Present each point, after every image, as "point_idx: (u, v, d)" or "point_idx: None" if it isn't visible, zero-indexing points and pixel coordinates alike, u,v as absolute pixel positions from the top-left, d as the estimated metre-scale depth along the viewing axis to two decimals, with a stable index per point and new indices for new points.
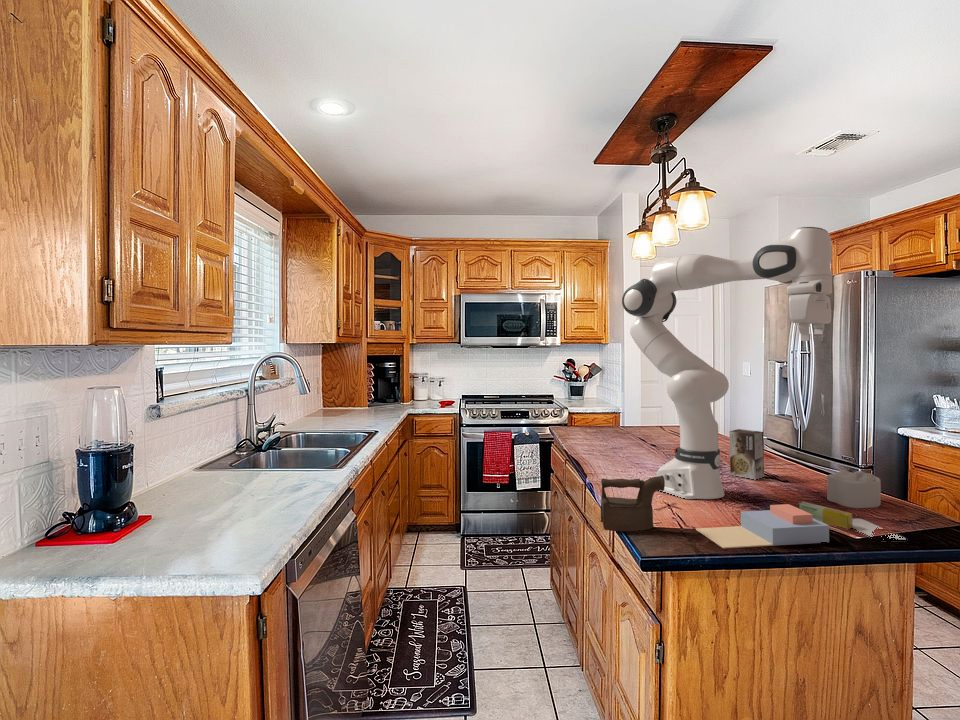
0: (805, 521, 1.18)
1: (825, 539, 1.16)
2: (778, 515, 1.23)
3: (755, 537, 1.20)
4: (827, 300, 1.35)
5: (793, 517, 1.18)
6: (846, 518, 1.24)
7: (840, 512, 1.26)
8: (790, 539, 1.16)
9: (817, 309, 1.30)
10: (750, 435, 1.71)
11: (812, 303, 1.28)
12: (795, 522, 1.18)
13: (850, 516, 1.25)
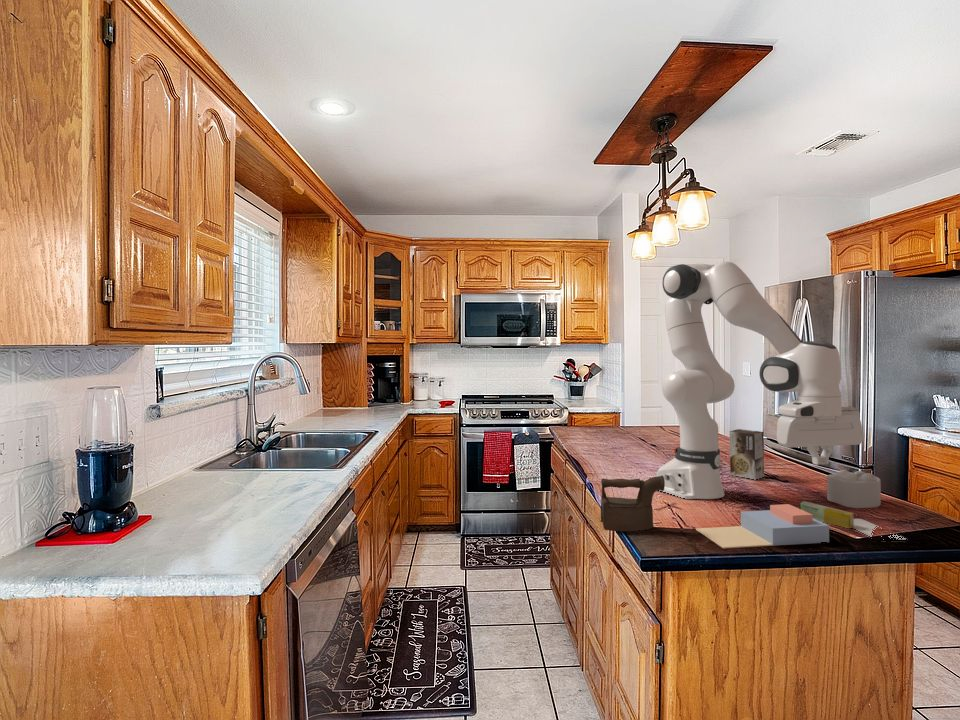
0: (805, 521, 1.18)
1: (825, 539, 1.16)
2: (778, 515, 1.23)
3: (755, 537, 1.20)
4: (849, 419, 1.21)
5: (793, 517, 1.18)
6: (847, 518, 1.25)
7: (841, 512, 1.27)
8: (790, 539, 1.16)
9: (818, 432, 1.20)
10: (750, 435, 1.71)
11: (806, 426, 1.20)
12: (795, 522, 1.18)
13: (851, 516, 1.25)
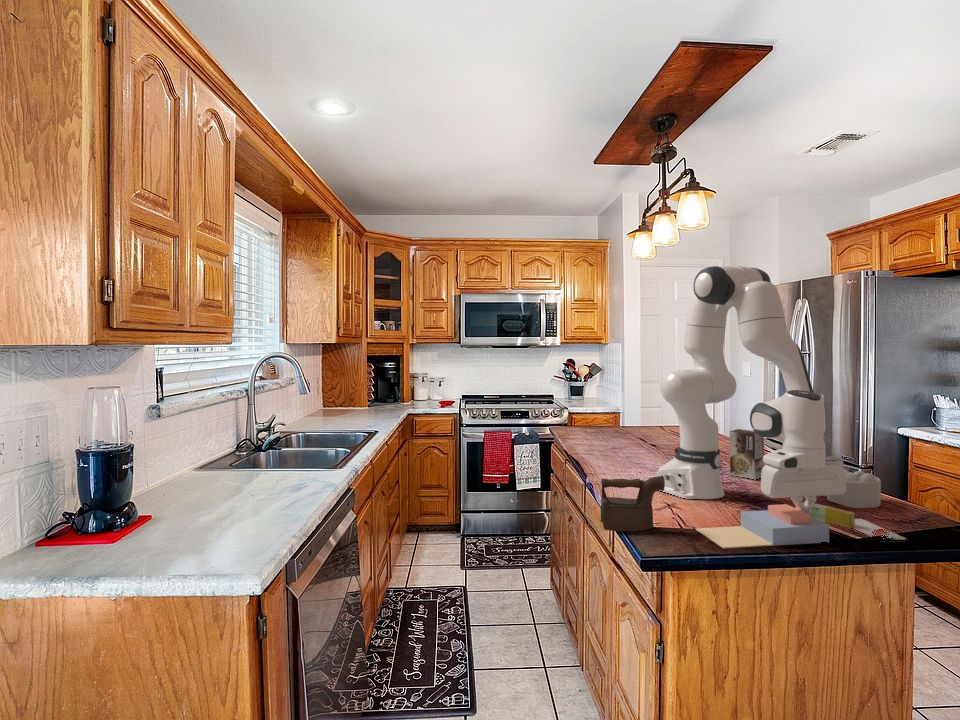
0: (803, 521, 1.18)
1: (825, 539, 1.16)
2: (776, 515, 1.23)
3: (755, 537, 1.20)
4: (833, 470, 1.21)
5: (791, 517, 1.18)
6: (849, 518, 1.25)
7: (842, 511, 1.27)
8: (790, 539, 1.16)
9: (802, 482, 1.20)
10: (750, 435, 1.71)
11: (790, 476, 1.20)
12: (793, 522, 1.18)
13: (852, 515, 1.25)
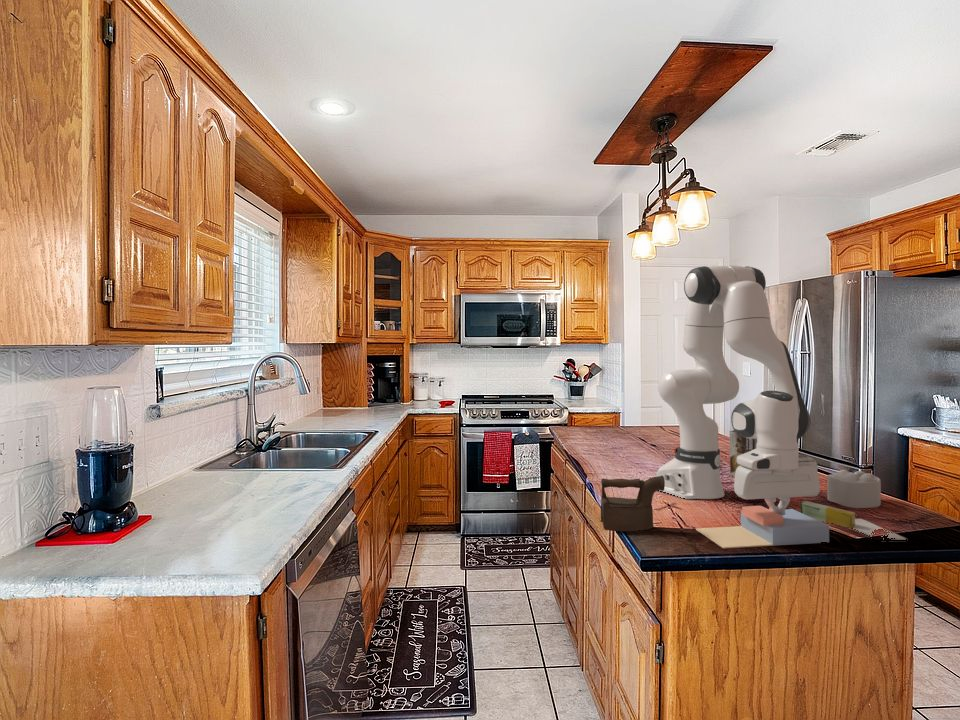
0: (776, 523, 1.17)
1: (825, 539, 1.16)
2: (749, 517, 1.22)
3: (755, 537, 1.20)
4: (806, 471, 1.20)
5: (763, 518, 1.17)
6: (849, 518, 1.25)
7: (843, 511, 1.27)
8: (790, 539, 1.16)
9: (775, 484, 1.19)
10: None
11: (763, 478, 1.19)
12: (766, 524, 1.17)
13: (853, 515, 1.25)
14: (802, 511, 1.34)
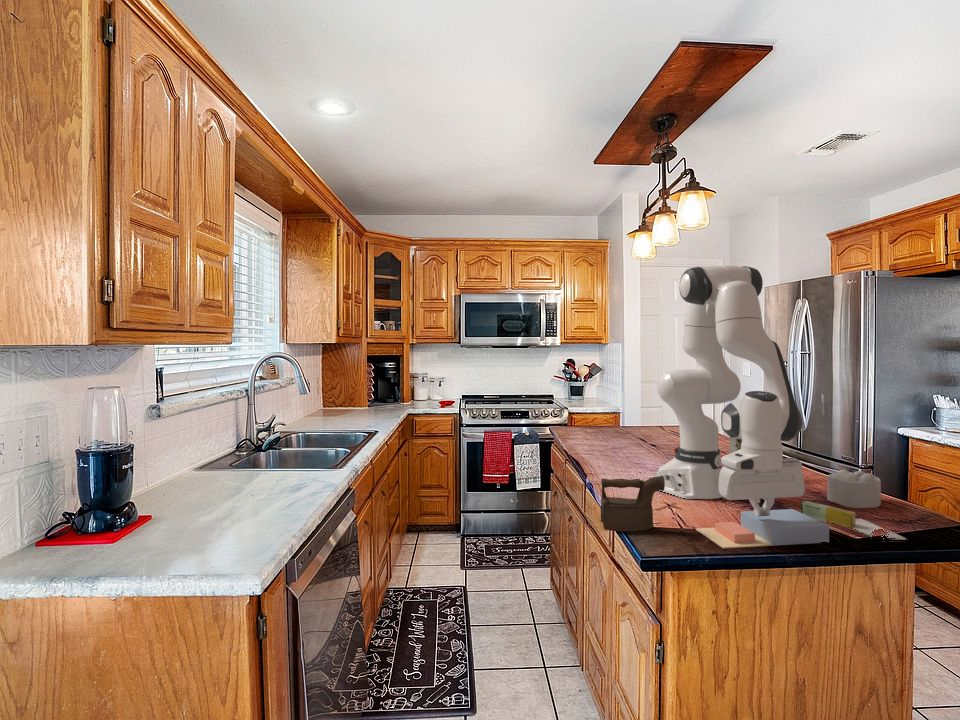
0: (741, 536, 1.16)
1: (825, 539, 1.16)
2: None
3: (755, 537, 1.20)
4: (791, 472, 1.20)
5: (754, 540, 1.17)
6: (849, 517, 1.25)
7: (843, 511, 1.27)
8: (790, 539, 1.16)
9: (759, 484, 1.19)
10: None
11: (747, 478, 1.19)
12: (751, 535, 1.17)
13: (853, 515, 1.25)
14: (802, 511, 1.34)
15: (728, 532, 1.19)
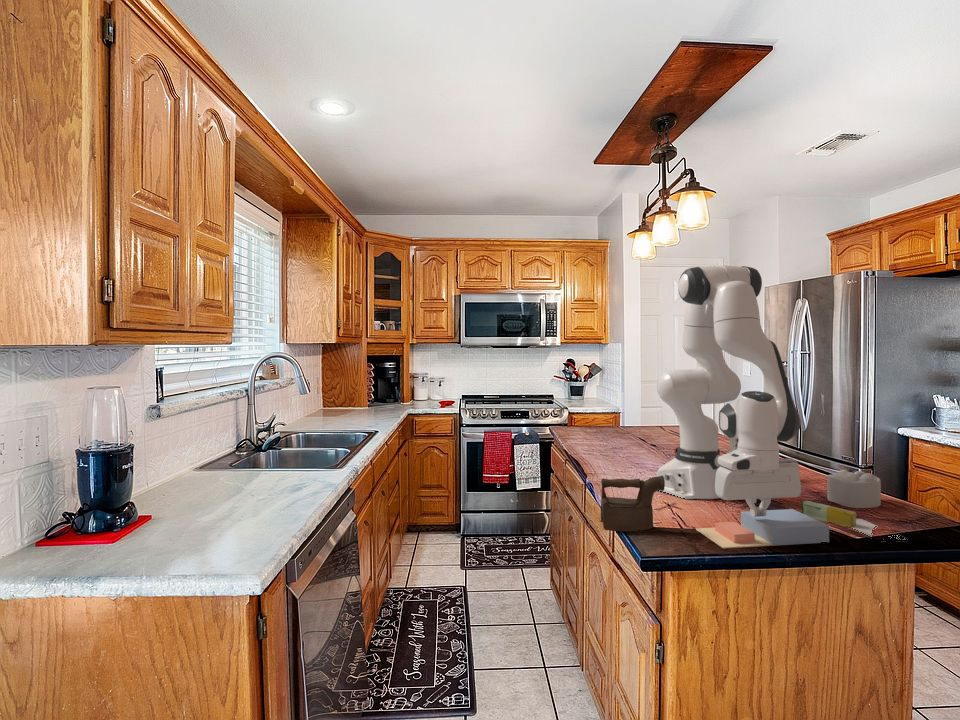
0: (741, 536, 1.16)
1: (825, 539, 1.16)
2: None
3: (755, 537, 1.20)
4: (787, 472, 1.20)
5: (754, 540, 1.17)
6: (850, 517, 1.25)
7: (844, 511, 1.27)
8: (790, 539, 1.16)
9: (755, 484, 1.19)
10: None
11: (743, 478, 1.19)
12: (751, 535, 1.17)
13: (854, 515, 1.26)
14: (803, 511, 1.35)
15: (728, 532, 1.19)
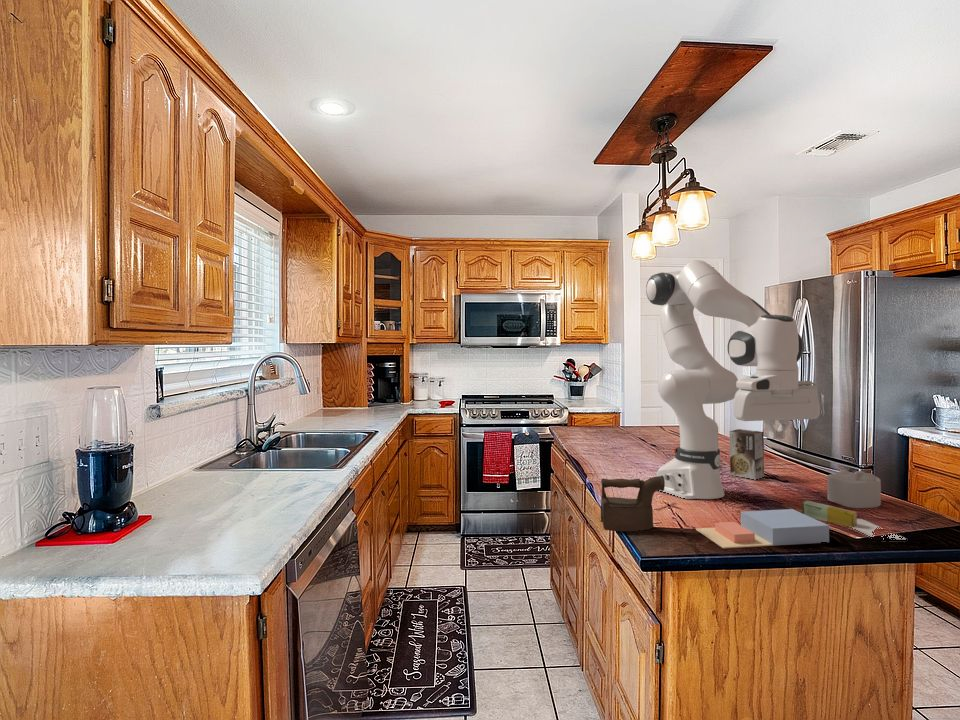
0: (741, 536, 1.16)
1: (825, 539, 1.16)
2: None
3: (755, 537, 1.20)
4: (806, 393, 1.20)
5: (754, 540, 1.17)
6: (851, 517, 1.25)
7: (845, 511, 1.27)
8: (790, 539, 1.16)
9: (774, 406, 1.19)
10: (750, 435, 1.71)
11: (762, 399, 1.19)
12: (751, 535, 1.17)
13: (855, 515, 1.26)
14: (804, 511, 1.35)
15: (728, 532, 1.19)
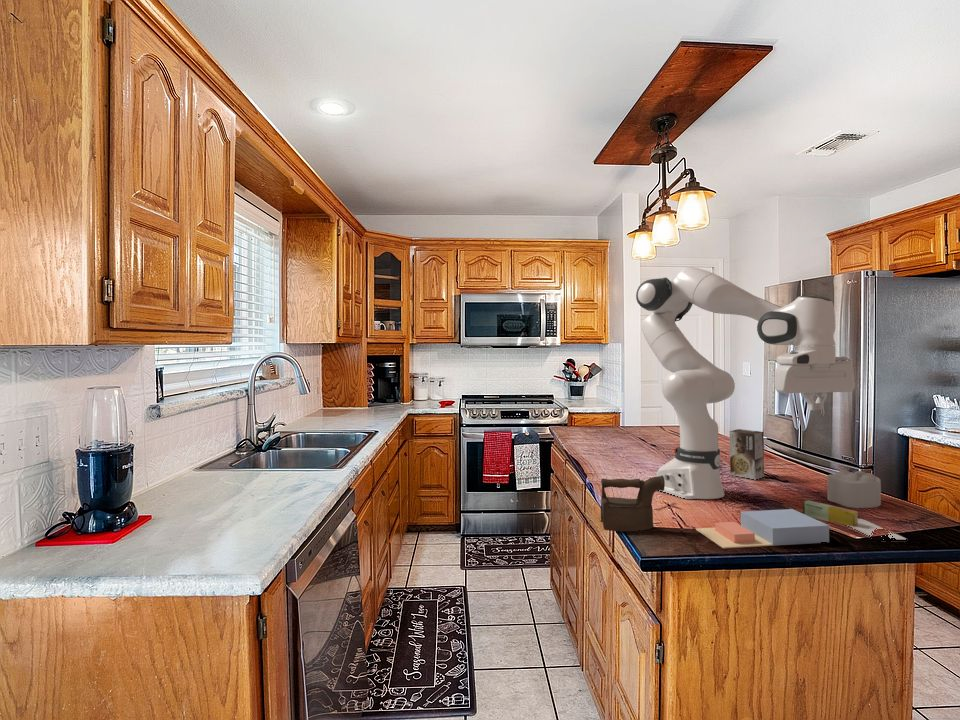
0: (741, 536, 1.16)
1: (825, 539, 1.16)
2: None
3: (755, 537, 1.20)
4: (842, 368, 1.29)
5: (754, 540, 1.17)
6: (852, 516, 1.26)
7: (846, 510, 1.28)
8: (790, 539, 1.16)
9: (813, 379, 1.29)
10: (750, 435, 1.71)
11: (802, 373, 1.28)
12: (751, 535, 1.17)
13: (856, 514, 1.26)
14: (804, 510, 1.35)
15: (728, 532, 1.19)
